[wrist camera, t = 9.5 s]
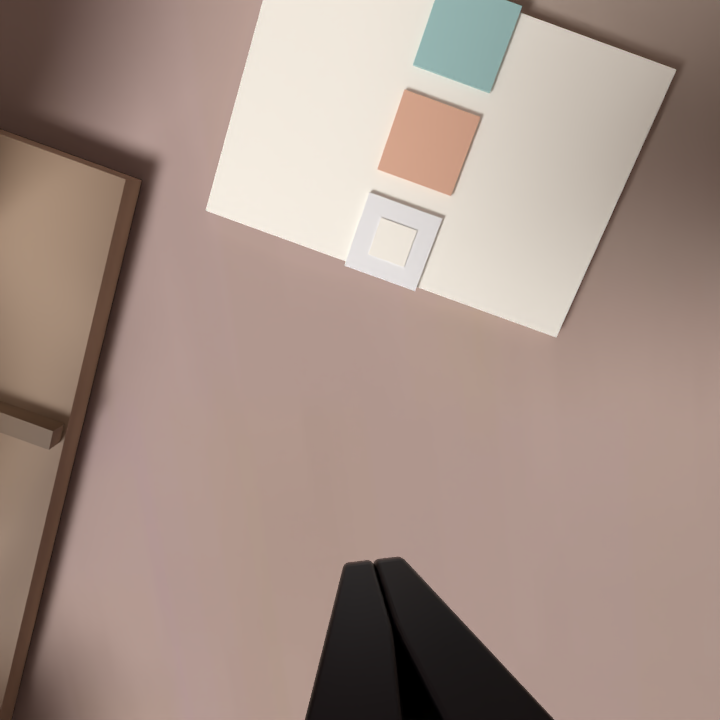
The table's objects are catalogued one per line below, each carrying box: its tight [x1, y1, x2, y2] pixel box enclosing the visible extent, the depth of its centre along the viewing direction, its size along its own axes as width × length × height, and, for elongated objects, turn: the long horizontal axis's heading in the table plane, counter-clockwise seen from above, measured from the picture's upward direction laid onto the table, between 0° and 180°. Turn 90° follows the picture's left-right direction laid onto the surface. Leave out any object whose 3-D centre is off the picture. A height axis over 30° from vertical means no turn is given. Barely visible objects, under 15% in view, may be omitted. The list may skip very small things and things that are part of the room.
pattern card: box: [206, 0, 676, 337], centre depth 16 cm, size 10×7×1 cm
